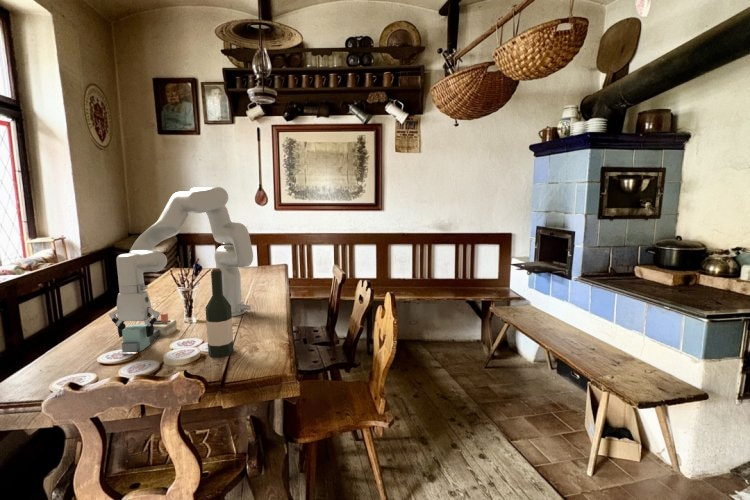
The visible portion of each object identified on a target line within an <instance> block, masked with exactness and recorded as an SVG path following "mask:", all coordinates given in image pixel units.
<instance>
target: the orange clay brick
mask: <svg viewBox="0 0 750 500" xmlns="http://www.w3.org/2000/svg"><path fill="white" fill-rule="evenodd" d="M160 320H161V322H168V320H169V313H167V312H166V313H165V312H164V313H163V312H162V313H160Z"/></svg>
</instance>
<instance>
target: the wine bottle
mask: <svg viewBox="0 0 750 500" xmlns="http://www.w3.org/2000/svg"><path fill="white" fill-rule="evenodd" d="M210 277H211V280H210V281H211V292H212V293H211V297H210V299H209V301H208V302H207V305H206V306H205V321H206V338H207V350H208V351H207V352H208V354H207V355H208V356H209V357H210V358H214V359H215V358H218V359H219V358H223V357H224V358H225V357H228V356H229V357H230V356H231V355H232V354H233V353H234V352H235V351H234V350H235V349H234V333H233V331H234V330H233V316H232V312H231V305H230V304H229V302H228V301H227V300H226V298H225V297H224V296H223V287H222V271H221V270H220V268H217V267H216V268H215V267H213V268H212V269H211V271H210Z"/></svg>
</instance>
